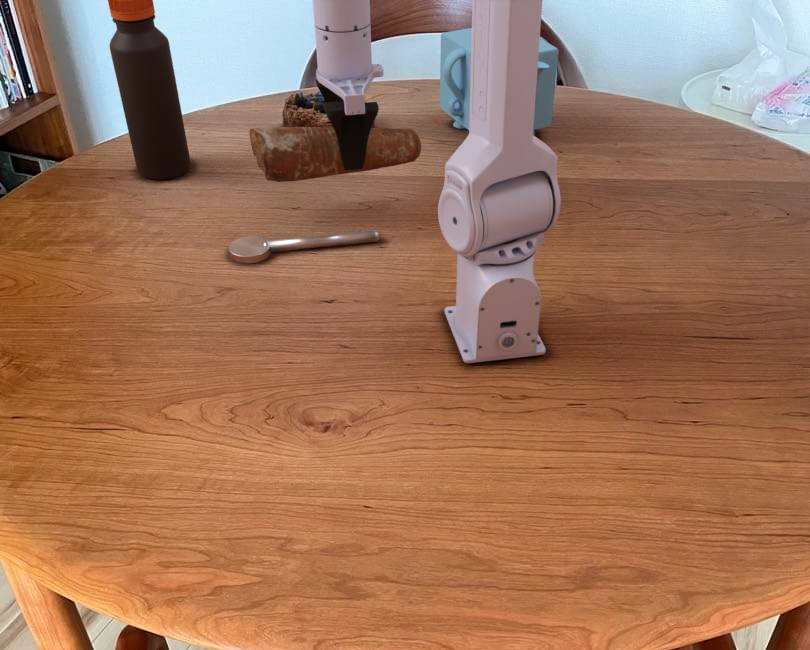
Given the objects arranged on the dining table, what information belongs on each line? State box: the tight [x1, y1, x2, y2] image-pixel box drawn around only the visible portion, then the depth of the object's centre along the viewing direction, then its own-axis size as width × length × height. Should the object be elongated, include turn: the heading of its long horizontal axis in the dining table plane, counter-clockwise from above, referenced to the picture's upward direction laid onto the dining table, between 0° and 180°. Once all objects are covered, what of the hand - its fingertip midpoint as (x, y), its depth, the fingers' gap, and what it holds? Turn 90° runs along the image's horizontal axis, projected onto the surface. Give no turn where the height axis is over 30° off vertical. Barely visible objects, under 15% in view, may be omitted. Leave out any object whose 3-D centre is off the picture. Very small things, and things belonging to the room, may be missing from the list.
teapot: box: [439, 27, 560, 136], centre depth 117 cm, size 18×16×13 cm
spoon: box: [228, 230, 381, 265], centre depth 101 cm, size 5×17×1 cm, turn 100°
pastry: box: [281, 91, 375, 128], centre depth 121 cm, size 11×12×6 cm
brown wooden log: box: [248, 126, 422, 183], centre depth 101 cm, size 6×19×6 cm, turn 104°
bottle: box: [107, 0, 191, 181], centre depth 109 cm, size 7×7×20 cm
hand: (349, 157), depth 102 cm, fingers closed on brown wooden log, 5 cm apart
